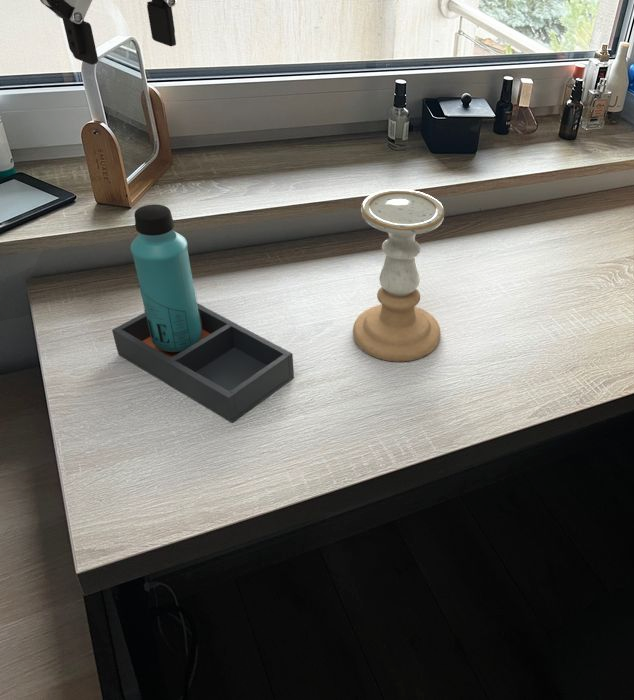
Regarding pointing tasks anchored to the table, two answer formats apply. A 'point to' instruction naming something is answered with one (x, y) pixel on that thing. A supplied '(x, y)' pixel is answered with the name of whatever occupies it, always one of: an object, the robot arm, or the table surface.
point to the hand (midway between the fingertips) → (127, 51)
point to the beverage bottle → (165, 280)
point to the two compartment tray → (212, 363)
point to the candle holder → (399, 278)
